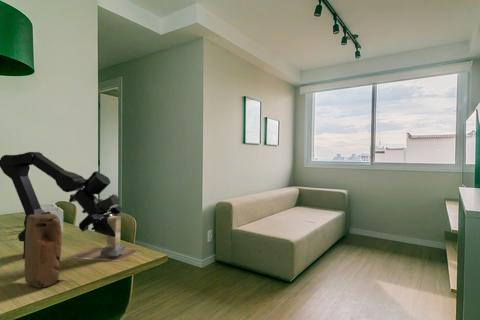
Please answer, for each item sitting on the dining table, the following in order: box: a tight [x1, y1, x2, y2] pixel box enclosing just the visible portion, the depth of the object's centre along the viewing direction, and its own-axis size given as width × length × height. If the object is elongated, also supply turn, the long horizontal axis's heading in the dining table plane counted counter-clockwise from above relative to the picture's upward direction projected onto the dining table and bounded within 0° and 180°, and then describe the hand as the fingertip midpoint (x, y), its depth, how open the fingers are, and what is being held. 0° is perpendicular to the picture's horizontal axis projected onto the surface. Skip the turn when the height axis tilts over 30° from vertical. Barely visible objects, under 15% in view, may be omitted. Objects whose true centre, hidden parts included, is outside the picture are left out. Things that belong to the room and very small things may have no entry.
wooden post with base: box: [101, 215, 127, 256], centre depth 100 cm, size 6×6×13 cm
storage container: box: [39, 202, 64, 234], centre depth 138 cm, size 25×11×11 cm, turn 43°
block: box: [24, 213, 63, 289], centre depth 82 cm, size 11×8×20 cm
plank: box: [68, 246, 138, 263], centre depth 102 cm, size 20×12×2 cm, turn 84°
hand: (117, 234), depth 100 cm, fingers closed on wooden post with base, 3 cm apart
